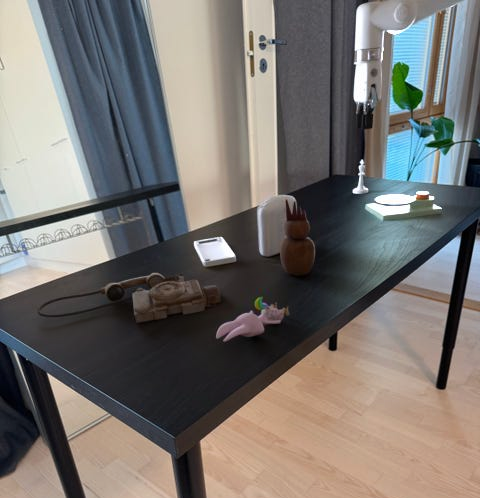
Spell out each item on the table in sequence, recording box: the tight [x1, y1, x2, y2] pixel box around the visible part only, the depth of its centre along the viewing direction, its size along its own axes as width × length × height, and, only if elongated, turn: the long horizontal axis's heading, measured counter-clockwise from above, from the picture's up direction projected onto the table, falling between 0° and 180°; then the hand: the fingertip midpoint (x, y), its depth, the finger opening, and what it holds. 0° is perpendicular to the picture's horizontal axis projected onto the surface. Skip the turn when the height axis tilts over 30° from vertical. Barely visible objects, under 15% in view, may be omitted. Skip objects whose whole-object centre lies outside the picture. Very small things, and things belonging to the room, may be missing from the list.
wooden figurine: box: [279, 199, 316, 277], centre depth 81 cm, size 7×6×15 cm
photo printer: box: [256, 194, 298, 257], centre depth 94 cm, size 10×4×12 cm, turn 132°
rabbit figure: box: [215, 296, 290, 343], centre depth 65 cm, size 6×6×15 cm
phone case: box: [193, 236, 237, 268], centre depth 98 cm, size 7×1×15 cm
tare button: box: [415, 190, 430, 200], centre depth 113 cm, size 3×3×2 cm
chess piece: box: [352, 159, 369, 195], centre depth 133 cm, size 5×5×10 cm
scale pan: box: [374, 194, 414, 207], centre depth 112 cm, size 10×10×1 cm
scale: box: [364, 195, 443, 222], centre depth 114 cm, size 16×12×3 cm
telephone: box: [37, 272, 222, 324], centre depth 77 cm, size 15×33×4 cm, turn 105°
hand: (364, 127), depth 126 cm, fingers open, 3 cm apart
